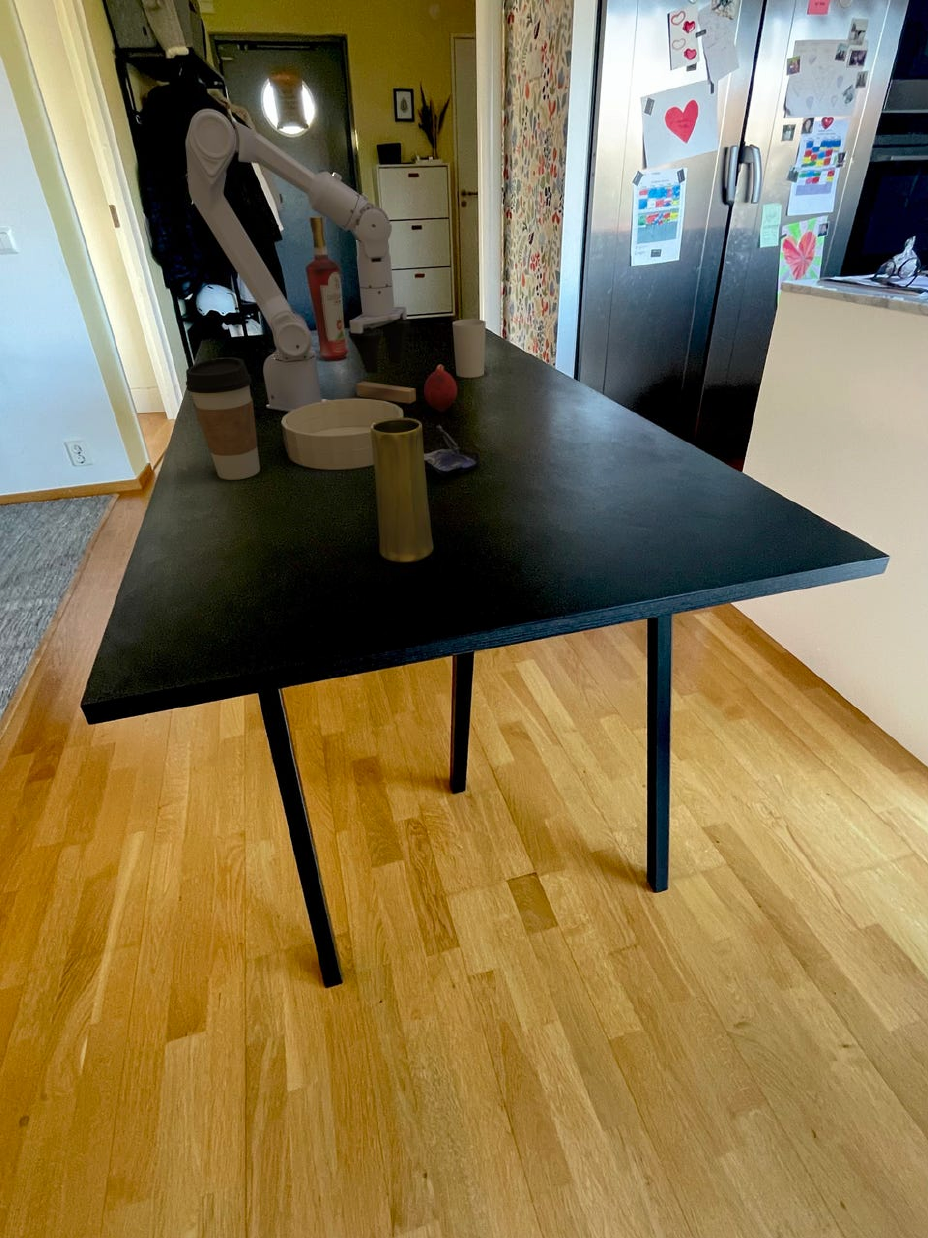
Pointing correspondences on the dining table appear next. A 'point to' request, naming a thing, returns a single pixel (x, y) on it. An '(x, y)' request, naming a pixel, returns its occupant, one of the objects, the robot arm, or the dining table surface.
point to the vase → (401, 490)
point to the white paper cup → (469, 347)
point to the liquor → (326, 296)
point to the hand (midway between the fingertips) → (383, 367)
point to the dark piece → (450, 457)
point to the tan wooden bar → (386, 392)
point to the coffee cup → (226, 415)
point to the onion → (440, 389)
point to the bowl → (335, 432)
